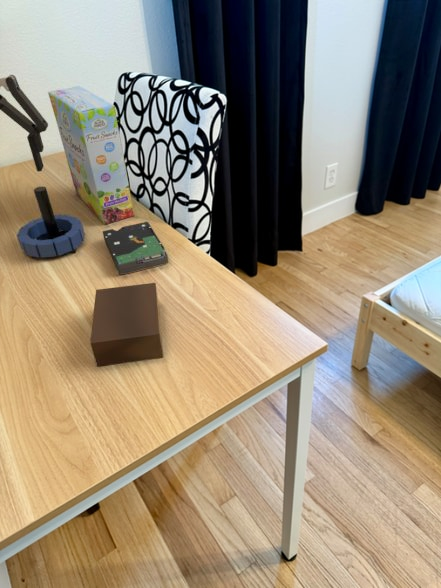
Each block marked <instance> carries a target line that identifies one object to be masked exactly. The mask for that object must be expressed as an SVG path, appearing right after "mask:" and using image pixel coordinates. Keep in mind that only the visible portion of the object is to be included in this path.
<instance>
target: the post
mask: <svg viewBox="0 0 441 588" xmlns="http://www.w3.org/2000/svg"><path fill="white" fill-rule="evenodd" d="M33 193H34V196H35V199H36V202H37V206H38V208H39V212H40V215H41V218H43V222H44V225H45V228H46V231H47V233H45V234H42V235H40V236H39V237H37V238H36V240H49V239H54V238H57V237H60V236H63V235H65V234H66V233H67V232H68V231H63V230H61V231H59V230H58V226H57V223H56V220H55V216H54V215H55V213H54V210H53V206H52V203H51V200H50V196H49V193H48V189H47V187H46V186H37V187H35V188H33ZM77 248H78V247H77ZM77 248H75V249H72V251H70V252H67V253H64V254H62V255H71V254H76V253H77ZM62 255H61V256H62ZM56 256H58V254H57V255H56ZM30 257H31V258H32V259H34V258H36V259H37V257H34V256H30Z"/></svg>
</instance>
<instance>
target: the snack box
mask: <svg viewBox="0 0 441 588" xmlns="http://www.w3.org/2000/svg"><path fill="white" fill-rule="evenodd" d="M47 94H48V98H49V100H50V101H49V102H50V104H51V108H52V111H53V115H54V118H55V122H56V125H57V129H58V132H59V137H60V140H61V143H62V146H63V149H64V154H65V158H66V162H67V165H68V170H69V173H70V176H71V179H72V183H73V187H74V191H75V194H76V195H77V196H78V197H79V198H80V199H81V200H82V201H83V202H84V204H86V206H87V207H88V208H89V209H90V210H91V211H92V212H93V213H94V214H95V215H96V216H97V218H98V219H99V220H100V221H101V222H102V223H103V225H109V224H112V223H115V222H118V221H122V220H124V219H128V218H132V217H135V215H136V214H135V211H134V204H133V199H132V195H131V188H130V183H129V180H128V179H129V178H128V173H127V167H126V161H125V157H124V151H123V146H122V139H121V133H120V129H119V123H118V118H117V113H116V107H115V105H114V104H113V103H111V102H109V101H108V100H106V99H105V98H102V97H100V96H98V95H96V94H94V93H93V92H91V91H89V90H88V89H86V88H84V87H83V86H80V85H78V86H72V87H68V88H67V87H66V88H59V89H55V90H50V91H47Z"/></svg>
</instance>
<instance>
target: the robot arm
mask: <svg viewBox="0 0 441 588" xmlns="http://www.w3.org/2000/svg"><path fill="white" fill-rule="evenodd" d="M1 87H3V88H4V89H5V91H7V92H9V93H10V95H11V96H12V97H13V99H14V100H15V101H16V102H17V104H18V105H19V106H20V107H21V108H22V110H23V111H24V112H25V113H26V114H27V116H28V117H27V116H26V115H24V113H22V111H20V110H18V109H17V107H15V106H14V105H13V104H11V103H10V101H8V99H7V98H6V97H4V96H3V95H2V94H1V93H0V111H1V112H2V113H4V114H5V115H7V117H8V118H10V119H11V121H13V122H15V123H16V124H17V125H18V126H19V127H21V128H22V129H23V130H24V131H26V132H27V133H28V135H27V137H26V138H27V142H28V145H29V148H30V151H31V155H32V159H33V161H34V166H35V169H36V172H42V171H43V168H44V162H43V159H42V156H41V155H42V154H41V153H43V152H44V149H45V147H44V143H43V140H42V136H41V134H42V133H43V132H46V131H47V129H48V127H49V123H48V121H47V120H46V119H45V118H44V117H43V115H42V114H41V112H40V111H39V110H38V109H37V107H36V106H35V105H34V104H33V103H32V101H31V100H30V99H29V98H28V96H27V95H26V94H25V92H24V91H23V90H22V89H21V87H20V85H19V82H18V79H17V78H16V76H15V75H14V74H9V75H8V76H6V77H0V88H1Z"/></svg>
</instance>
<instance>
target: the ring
mask: <svg viewBox="0 0 441 588" xmlns="http://www.w3.org/2000/svg"><path fill="white" fill-rule="evenodd" d="M54 216H55V220H56V223H57V226H58V230H59V231H68V232H67V233H66V234H65V235H63V236H60V237H57V238H54V239H49V240H36V238H37V237H39V236H40V235H42V234H45V233H47V231H46V228H45V225H44V222H43V218H42V217H39V218H35V219H33V220H31V221H29V222H27V223H26V224H24V225H23V226H21V227H20V228H19V229H18V232H17V234H16V239H17V241H18V244H19V246H20V249H21V250H22V251H23V252H24V254H26V255H27V256H29V257H31V256H34V257H36V258H38V259H39V258H42V259H43V258H52V257H53V258H54V257H57V256H62V254H63V255H65V254H64V253H67V252H70V251H72V249H75V248H78V247H79V246H81V244H83V243H84V240H85V235H86V234H85V231H84V226H83V222H82V220H80V219H79V218H77V217H76V216H73V215H68V214H54ZM57 254H58V255H57Z"/></svg>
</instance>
